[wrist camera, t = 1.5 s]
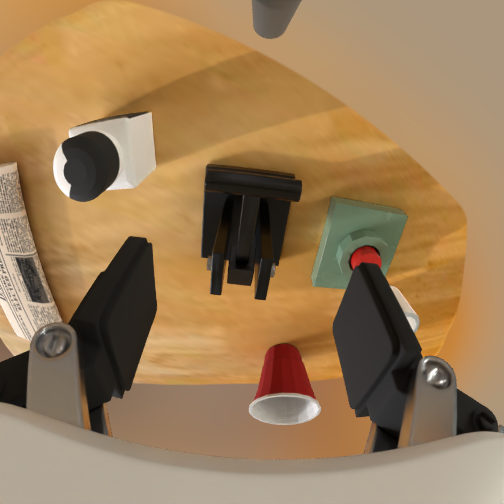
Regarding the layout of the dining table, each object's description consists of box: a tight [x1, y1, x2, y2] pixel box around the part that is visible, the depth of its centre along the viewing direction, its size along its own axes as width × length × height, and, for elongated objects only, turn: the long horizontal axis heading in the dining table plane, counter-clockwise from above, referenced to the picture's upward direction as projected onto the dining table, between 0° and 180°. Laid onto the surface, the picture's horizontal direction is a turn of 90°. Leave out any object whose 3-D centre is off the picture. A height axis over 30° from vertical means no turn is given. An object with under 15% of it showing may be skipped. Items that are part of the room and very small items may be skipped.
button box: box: [311, 196, 408, 289], centre depth 37 cm, size 12×10×4 cm
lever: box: [205, 169, 302, 286], centre depth 23 cm, size 12×6×2 cm, turn 173°
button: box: [351, 246, 382, 270], centre depth 34 cm, size 4×4×2 cm
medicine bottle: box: [53, 111, 156, 202], centre depth 26 cm, size 7×7×12 cm
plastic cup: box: [249, 344, 321, 425], centre depth 45 cm, size 11×11×12 cm
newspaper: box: [0, 162, 63, 341], centre depth 40 cm, size 37×19×3 cm, turn 177°
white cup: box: [390, 286, 420, 334], centre depth 40 cm, size 7×7×7 cm
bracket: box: [201, 164, 295, 300], centre depth 31 cm, size 12×10×13 cm
